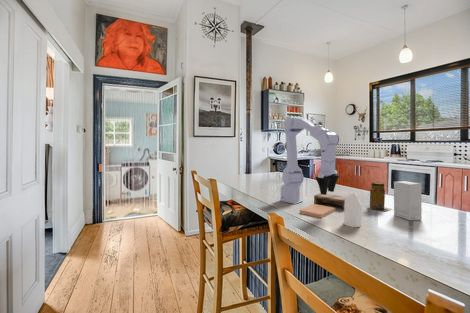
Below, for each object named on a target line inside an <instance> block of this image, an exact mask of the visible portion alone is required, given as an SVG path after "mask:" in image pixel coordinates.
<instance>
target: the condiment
mask: <svg viewBox="0 0 470 313" xmlns="http://www.w3.org/2000/svg"><path fill="white" fill-rule="evenodd" d="M370 185H371V187H370V190H369V206H367V207H365V208H366V209H370V210H376V211H382V212H389V211H390V210H392V208H390V207H385V202H386V201H385V198H386V190H385V184H384V183H382V182H377V181H375V182H371V184H370Z"/></svg>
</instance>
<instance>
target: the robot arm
mask: <svg viewBox="0 0 470 313" xmlns="http://www.w3.org/2000/svg"><path fill="white" fill-rule="evenodd" d="M283 128H284V129H283V130H284V134H285V146H286V147H285V148H286V150H285V151H286V164H287V166H286V167H285V168H284V169H283V170H282V176H281V177H282V178H281V179H282V182H283V184H282V185H281V187H280V199H279V201H280V202H284V203H288V204H293V205H296V204H299V203H303V201H304V200H303V199H300V195H301V194H300V193H301V190H300V189H301V186H302V183H303V182H304V180H305V177H304V174H303V169H302V168H301V167H300V166H299V164H298V163H299V162H298V151H297V150H298V149H297V146H298V145H297V135H298V134H300V133H302V131H303V130H305V131H308V132H309V134H310V136H311V137H312V138H314V139H315V140H316V141H317V142H318V145H319V149H320V152H321V153H320V171H319V172H318V173H317V176H316V177H315V180H316V182H317V184H318V188H319V191H320V193H321V194H324V195H326V194H328V192H330V193H331V192H332V193H333V192H335V188H336V184H337V182H338V179H339V178H340V175H339V172H338V171H337V169H336V161H337V160H336V158H337V154H336V153H337V150H336V149H337V145H339V143H340V136H339V134H338V133H337V132H335V131H334V132H331V131H330V130H329V129H328V128H327V129H326V128H325V127H323V125H321V124H316V125H315V124H313V123H312V122H310V121H309V120H308V118H307V117H305V116H289V115H288V116H286V118H285V119H284V121H283Z"/></svg>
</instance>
